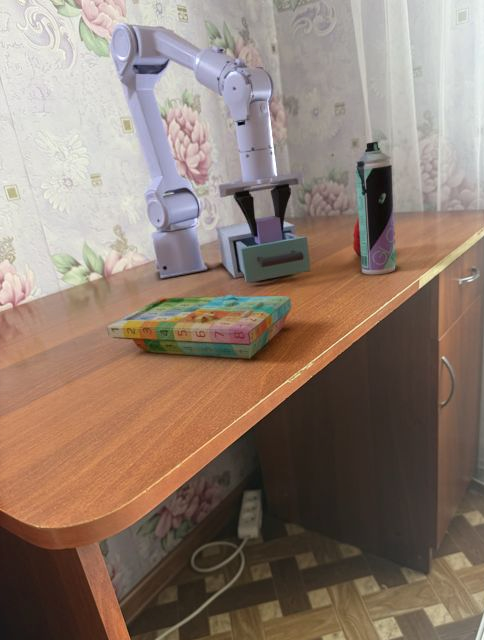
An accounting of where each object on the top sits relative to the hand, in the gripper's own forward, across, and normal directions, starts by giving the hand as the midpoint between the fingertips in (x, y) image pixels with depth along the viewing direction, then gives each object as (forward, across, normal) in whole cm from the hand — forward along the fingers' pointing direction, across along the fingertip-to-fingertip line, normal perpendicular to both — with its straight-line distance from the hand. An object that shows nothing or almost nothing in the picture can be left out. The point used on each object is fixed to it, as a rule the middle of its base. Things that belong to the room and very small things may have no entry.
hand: (267, 233), depth 87 cm
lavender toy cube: (+1, 0, 0) cm, 1 cm away
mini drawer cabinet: (+8, 0, +12) cm, 14 cm away
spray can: (+8, +16, -10) cm, 20 cm away
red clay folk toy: (+8, +20, 0) cm, 22 cm away
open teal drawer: (+7, 0, 0) cm, 7 cm away
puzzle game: (+8, -16, -26) cm, 31 cm away
